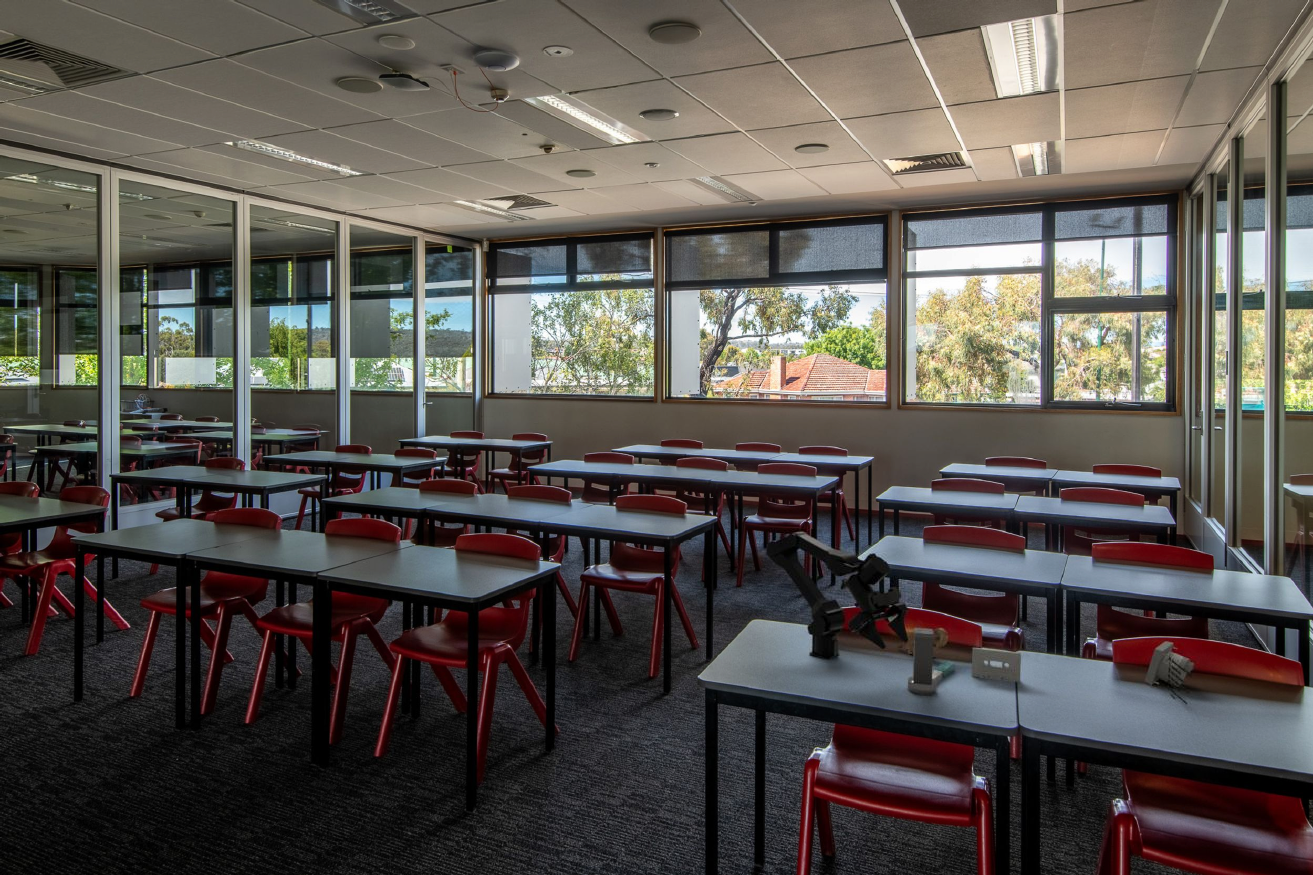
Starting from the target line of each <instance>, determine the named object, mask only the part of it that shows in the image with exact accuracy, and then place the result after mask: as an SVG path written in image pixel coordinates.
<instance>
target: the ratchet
mask: <svg viewBox="0 0 1313 875" xmlns="http://www.w3.org/2000/svg"><path fill="white" fill-rule="evenodd" d="M954 671H955V662H951V661H949V660H948V661H947V660H944V661H943V662H942V663H940V664H939V665H938V666H937V667H935V668H934V670H932V685H927V684H917V683H913V676H910V677H908V678H907V691H908V692H909V693H911V694H913V695H916V696H917V695H918V696H922V697H923V696H924V697H931V696H935V695H936V694H937V687H938V686H937V684H938V683H939V682H941V680H943V679H945V678H946V677H947V676H949V675H950V674H951V673H952V672H954Z"/></svg>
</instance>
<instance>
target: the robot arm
mask: <svg viewBox="0 0 1313 875" xmlns="http://www.w3.org/2000/svg"><path fill="white" fill-rule="evenodd" d="M799 550H801V551H803V552H804V553H807V554H808V555H810V556H812V557H814V558H816V559H817V560H819V561H821V562H822V563H824V564H825V566H826V567H827V570H829V571H830V572H831V573H832V574H834V575H835V576H836V577H839V578H840V577H845V576H849V577H848V578H844V579H841V585H840V590H841V591H842V590H847V589H848V590H849V593H850V594H851V595H852V597H853V599H854V601H855V603H854V607H855V608H859V609H860V610H861V612H857V613H856V614H854V615H853V617H852V618H851V619H850V620H848V622H847V624H848V628H849V630H850V632H851V633H854V632H855V634H856V635H860V636H862V637H863V638H865V639H867V641H868V640H869V641H870V642H871V643H872V644H874V645H876V646H877V647H879V648H880V649H881V650H885V649H886V643H885V642H884V640H883V638H882V636H881V635H880V633H879V631H878V629H877V626H876V623H877V621H881V620H884V621H886V622H887V626H888V627H889V628H890V629H891V630H892V631H893V632H894V633H895V635H897V637H899V639H901V640H902V641H903V642H905V644H906V643H907V642H908V637H907V630H906V626H905V618H906V616H907V615H908V611H909V608H908V606H907V605H906V604H905V603H904V602H901V600H900V599H902V594H901V592H900V589H898V587H896V586H895V587H890V588H888V590H887V592H884V593H881V591H879V590H876V591H875V590H874V588H873V587H872V586H876V585H877V584H879V583H880V582H881V580H882V579H884V578H885V577H886V576H887V575H888V574H889V573H890V571H891V569H890V565H889V563H888V562H887V561H886V560H884V559H883V558H882V557H880V556H878V555H877V554H876V553H875V552H873V553H869V554H868V555H867V556H866V558H865V559H864V560H863V559H861V558H859V557H858V555H856V554H854V553H852V552H849V551H845V550H838V549H834V548H833V547H831V546H829V545H827V544H826V543H824V542H821V541H820V540H818V539H816V538H814V537H812V536H811V535H809V534H807V533H806V532H804V531H796V532H791V533H790V534H788V535H786V536H784V537H782V538H780V539H778V540H777V539H776V540H771V541H769V542H768V544H767V546H766V555H767V557H768V558H769V560H771V562H773V564H774V565H776V566H778V567H780V568H781V569H783V570H784V571H785V572H786V574H787V576H788V577H789V578H790V579H791V582H792V583H793V584H794V586H795V587H796V588H797V590H798V591H799V593H800V594H801V596H802V597H803V598H804V600H805V601H806V603H807V604H808V605H809V607H810V611H811V618H812V622H810V624H808V625H807V632H808V633H807V634H808V635H810V636H812V638H811V651H810V652H808V653H809V655H810V656H812V657H813V656H814V657H818V658H821V659H826V660H831V659H833V658H835V657H836V656H838V655H840V652H839V640H838V634H840V633H841V634H842V631H843V630H842V629H843V628H844V626H845V623H846V615H845V614H844V611H845V610H844V609H843V608H842V607H841V606H840V605H839V603H838V601H837V600H836V599H827V598H826V597H825V595H823V592H821V590H820V588H819V587H818V586H817V584H816V583H815V581H814V580H813V579H812V577H811V576H810V575H809V573H808V572H807V570H806V569H805V568H804V566H803V565H802V563H801V562H800V560H799Z"/></svg>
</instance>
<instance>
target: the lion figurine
mask: <svg viewBox="0 0 1313 875" xmlns="http://www.w3.org/2000/svg"><path fill="white" fill-rule="evenodd" d="M932 630H933V653H934V651H935V650H936V651H937V650H939V649H940V648H941V647H944V646H945V645H947V642H948V638H949V635H948V632H947V631H946V630H945V629H944V628H942V627H939V628H935V629H932ZM906 633H907V637H908V642H907V643H905V642H904V641H903V642H902V644H900V645H899V646H897V649H902V648H903V647H904V645H905V644H906V645H905V649H906V650H907V649H908V650H907V654H908V655H910V654H912V655H914V651H913V652H912V650H911V647H912V644H914V629H910V630H908V631H906ZM933 657H935V658H936V655H935V654H933Z"/></svg>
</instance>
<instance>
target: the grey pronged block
mask: <svg viewBox="0 0 1313 875" xmlns="http://www.w3.org/2000/svg"><path fill="white" fill-rule="evenodd" d="M1172 649H1175V650H1178V648H1177V647H1175V646H1174V642H1171V641H1164V642H1163V643H1161V644H1159V645H1158V646H1157V647H1155V649H1154V652H1153V654H1152V657H1151V660H1150V663H1149V667H1148V669H1147V673H1146V676H1145V678H1144V683H1147V684H1148V685H1150V686H1152V685H1154V684H1156V685H1158V686H1159V685H1160V682H1157V681H1158V680H1161V681H1163V682H1166V683H1167V684H1168V685H1167V691H1171V692H1169V694H1170V697H1171V698H1172V699H1173V700H1175V699H1176V697H1177V698H1178V699H1179V700H1181V702H1183V703H1184V704H1185V705H1188V702H1187V701H1185V699H1184V698H1183V697H1181V696H1180V695H1179V694H1177V693H1176V692H1175V691H1174V689H1175V690H1177V692H1178V693H1180V691H1181V690H1183V691H1185V693H1187V694H1189V693H1190V692H1189V690H1187V689H1186V688H1185V687H1183V686H1182V684H1183V682H1184V679H1185V678H1186V676H1187V675H1188V676H1189V677H1191V678H1192V674H1191V672H1192V671H1193V670H1194V667H1195V663H1194V662H1191V661H1190V658H1187V657H1185V656H1182V655H1180V654H1178V653H1175V652H1173V651H1172ZM1170 686H1171V687H1173V689H1172V688H1171V687H1170ZM1179 688H1180V689H1181V690H1180V689H1179ZM1175 696H1176V697H1175Z"/></svg>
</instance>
